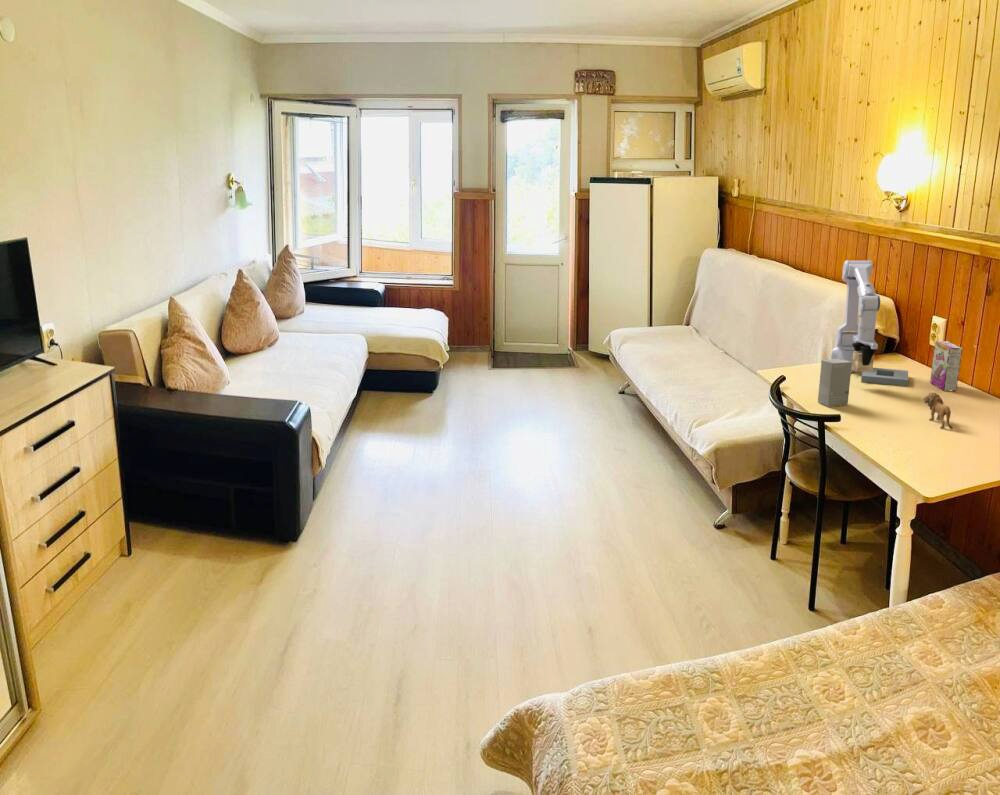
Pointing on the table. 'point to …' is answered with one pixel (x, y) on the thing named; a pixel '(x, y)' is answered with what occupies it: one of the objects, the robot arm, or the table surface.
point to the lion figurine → (938, 408)
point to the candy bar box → (946, 365)
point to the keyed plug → (858, 364)
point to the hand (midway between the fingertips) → (862, 363)
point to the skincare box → (834, 382)
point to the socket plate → (886, 376)
